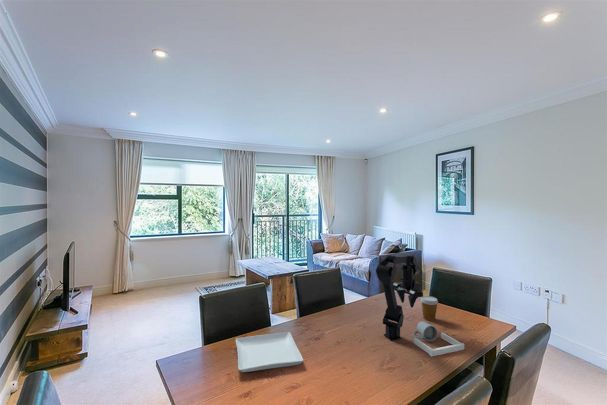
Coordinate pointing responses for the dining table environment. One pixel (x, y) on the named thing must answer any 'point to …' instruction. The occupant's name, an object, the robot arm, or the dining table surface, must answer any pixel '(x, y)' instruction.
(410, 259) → the robot arm
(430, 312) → the disposable coffee cup
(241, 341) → the square plate
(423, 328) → the ceramic mug
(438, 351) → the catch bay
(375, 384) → the dining table surface
